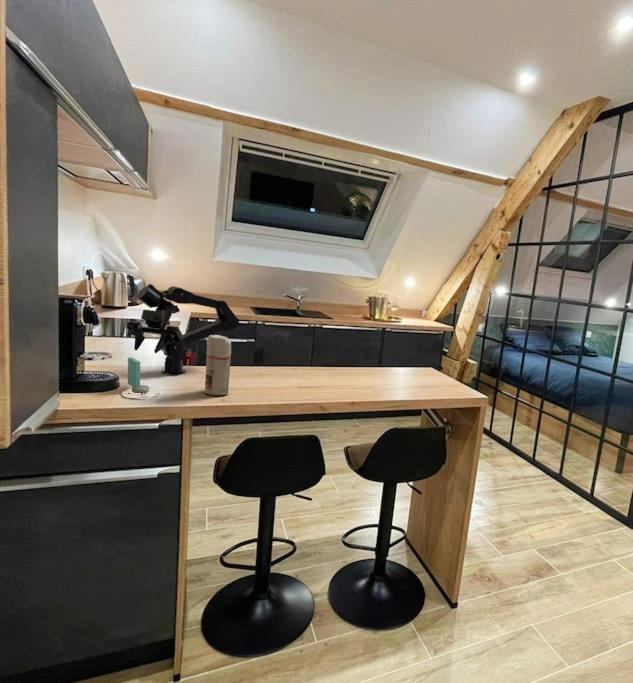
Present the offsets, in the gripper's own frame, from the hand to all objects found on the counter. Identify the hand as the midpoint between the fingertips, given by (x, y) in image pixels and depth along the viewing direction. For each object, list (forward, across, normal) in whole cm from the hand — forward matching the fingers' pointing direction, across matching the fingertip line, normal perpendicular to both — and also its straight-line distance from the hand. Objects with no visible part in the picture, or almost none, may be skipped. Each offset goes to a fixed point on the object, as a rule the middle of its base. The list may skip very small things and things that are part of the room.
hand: (145, 351), depth 136 cm
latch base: (+15, +4, +1) cm, 16 cm away
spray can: (+8, +26, +9) cm, 28 cm away
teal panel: (+13, +2, +2) cm, 13 cm away
